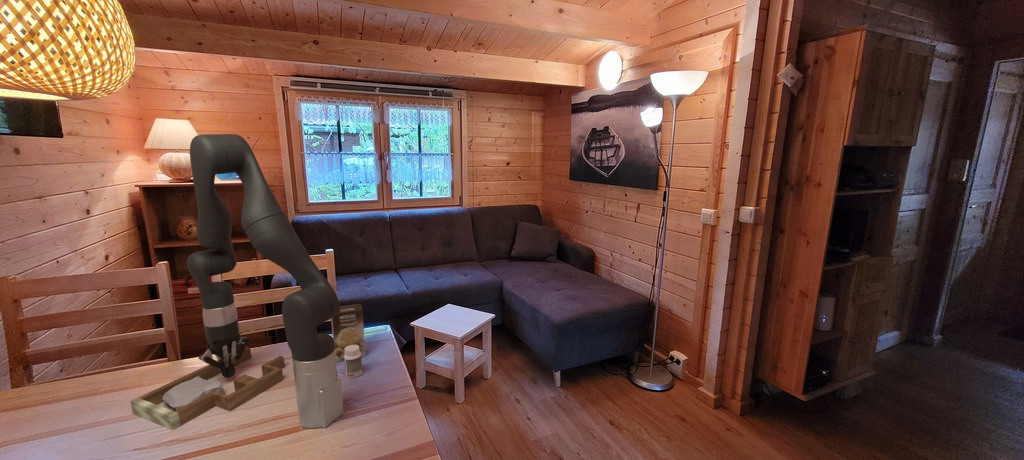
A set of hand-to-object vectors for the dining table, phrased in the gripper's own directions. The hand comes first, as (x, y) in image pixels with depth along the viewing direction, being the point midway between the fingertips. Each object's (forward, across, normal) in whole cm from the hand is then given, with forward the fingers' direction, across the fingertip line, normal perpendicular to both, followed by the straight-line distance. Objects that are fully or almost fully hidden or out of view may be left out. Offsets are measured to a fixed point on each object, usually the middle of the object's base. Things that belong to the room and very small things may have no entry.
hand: (229, 376), depth 112 cm
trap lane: (+1, -4, -3) cm, 5 cm away
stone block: (+2, -10, 0) cm, 10 cm away
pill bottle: (+2, +15, -30) cm, 34 cm away
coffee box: (+2, +24, -22) cm, 32 cm away
